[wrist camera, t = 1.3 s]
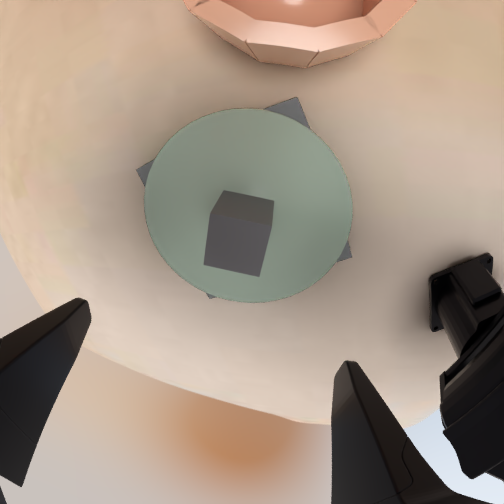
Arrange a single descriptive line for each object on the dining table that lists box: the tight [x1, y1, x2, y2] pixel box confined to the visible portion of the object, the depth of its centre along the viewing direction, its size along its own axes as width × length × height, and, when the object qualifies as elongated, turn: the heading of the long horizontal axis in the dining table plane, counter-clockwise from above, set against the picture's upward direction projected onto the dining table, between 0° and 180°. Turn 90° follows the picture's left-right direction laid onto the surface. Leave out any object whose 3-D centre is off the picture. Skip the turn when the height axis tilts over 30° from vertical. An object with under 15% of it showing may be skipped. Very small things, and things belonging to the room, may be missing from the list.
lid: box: [144, 108, 352, 303], centre depth 17 cm, size 13×13×4 cm
